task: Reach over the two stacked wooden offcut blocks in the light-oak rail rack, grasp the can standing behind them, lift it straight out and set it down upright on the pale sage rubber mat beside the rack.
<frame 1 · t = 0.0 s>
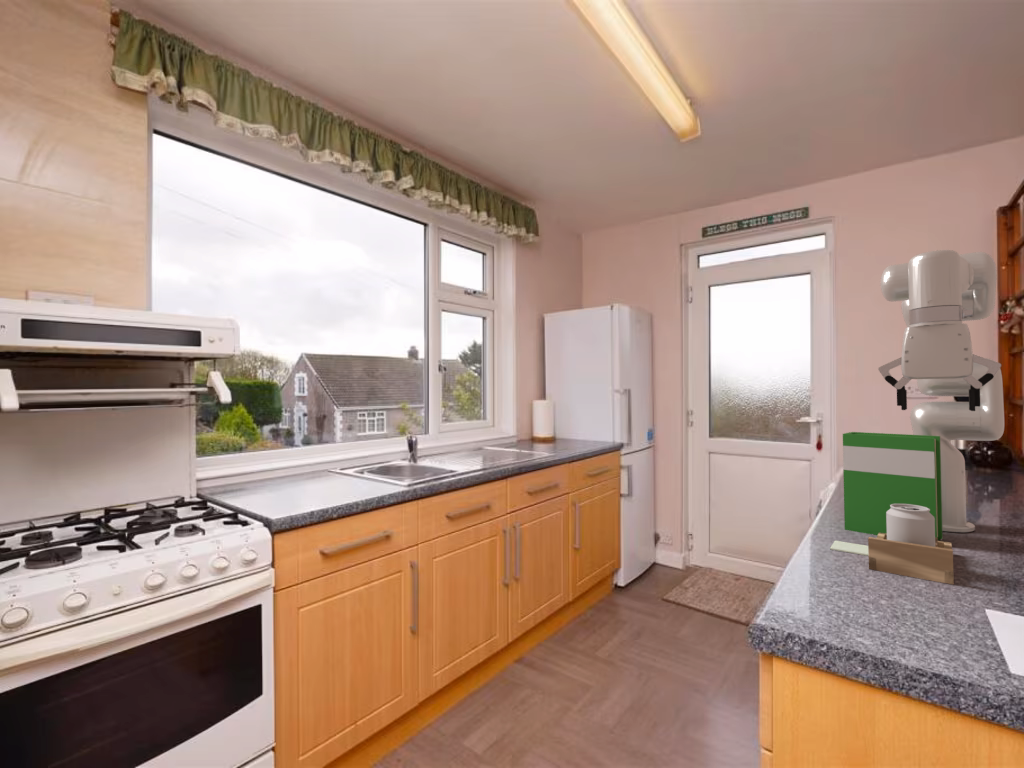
hand: (937, 410, 92), 31 cm above the countertop, fingers open, 9 cm apart
offcut small: (912, 537, 105), point 4 cm above the countertop, touching offcut large
rack: (911, 561, 101), on the countertop
can: (911, 567, 98), resting in rack
hardback book: (891, 535, 120), on the countertop
offcut large: (912, 556, 105), resting in rack, touching offcut small
mat: (851, 548, 109), on the countertop
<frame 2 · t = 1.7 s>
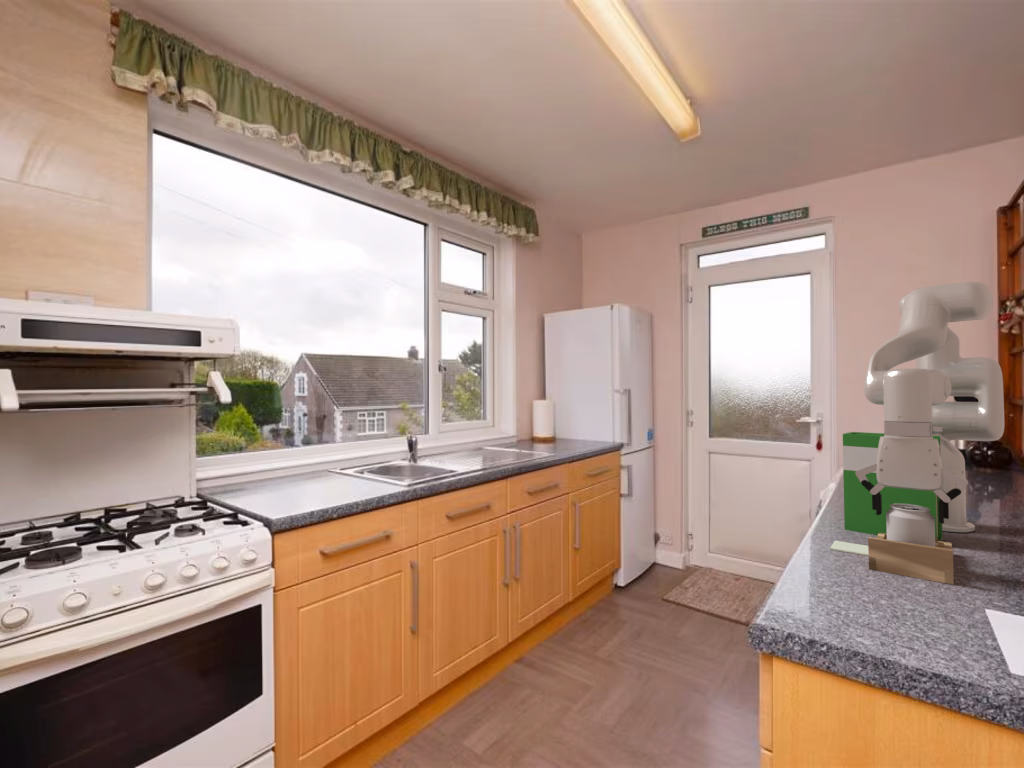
hand: (909, 517, 97), 10 cm above the countertop, fingers open, 9 cm apart
nothing on the countertop moved.
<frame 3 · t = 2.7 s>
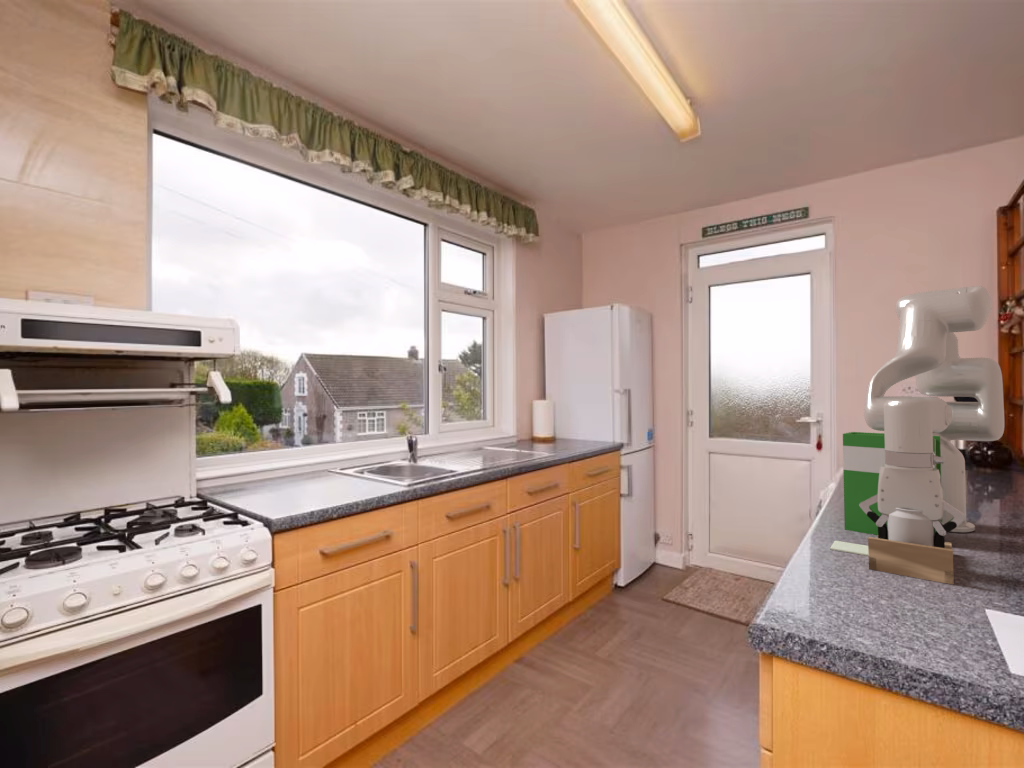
hand: (910, 549, 98), 3 cm above the countertop, fingers closed on can, 7 cm apart
can: (911, 567, 98), resting in rack, touching gripper
everything else where it was.
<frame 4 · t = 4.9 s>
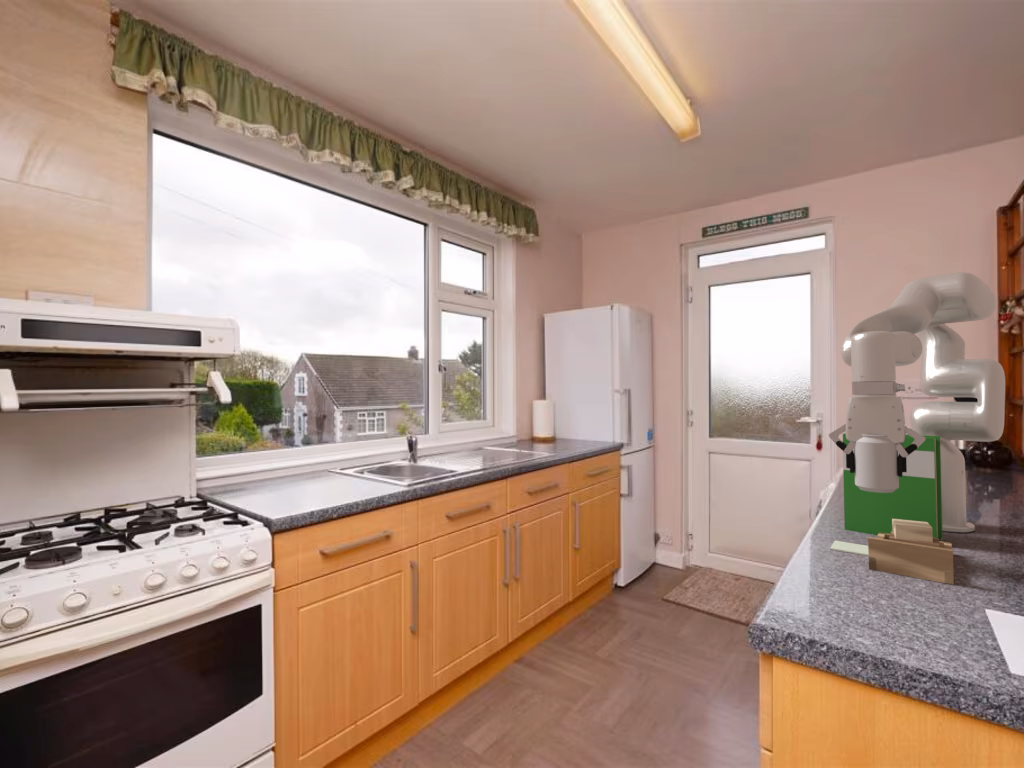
hand: (875, 473, 104), 17 cm above the countertop, fingers closed on can, 7 cm apart
offcut small: (911, 537, 105), point 4 cm above the countertop
can: (876, 490, 104), point 14 cm above the countertop, touching gripper
offcut large: (914, 556, 104), resting in rack
everything else where it was.
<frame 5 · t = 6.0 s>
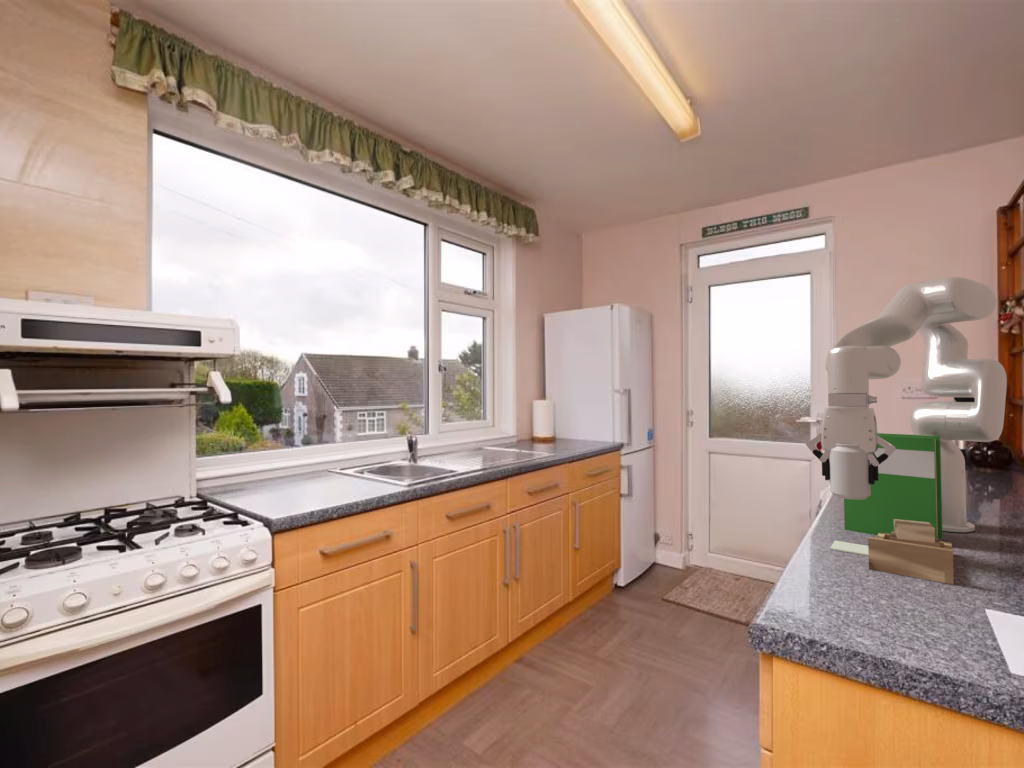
hand: (849, 481, 109), 15 cm above the countertop, fingers closed on can, 7 cm apart
offcut small: (913, 537, 104), point 4 cm above the countertop, touching offcut large
can: (849, 497, 109), point 11 cm above the countertop, touching gripper
offcut large: (914, 556, 104), resting in rack, touching offcut small
everything else where it was.
when the fingers open (5 cm above the countertop, at t = 8.2 s): can drops 1 cm, resting on mat.
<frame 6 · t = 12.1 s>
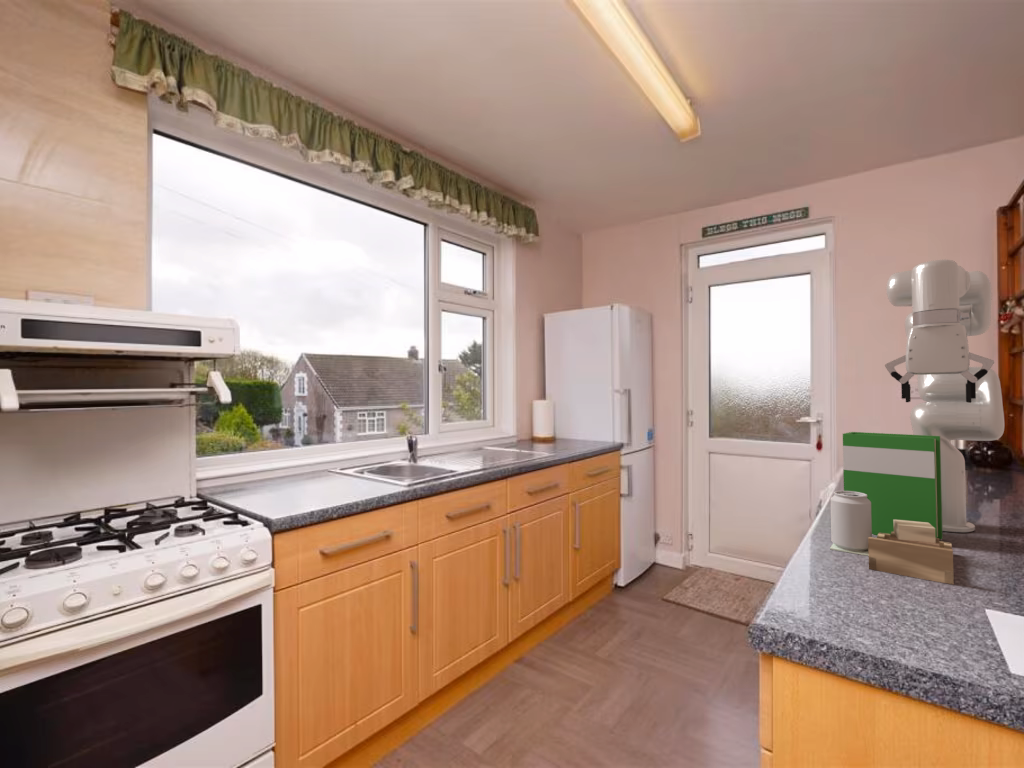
hand: (937, 402, 104), 32 cm above the countertop, fingers open, 9 cm apart
can: (851, 547, 109), resting on mat
everything else where it was.
at the end: can inside the target area on the mat (0.2 cm from its centre), point 0.1 cm above the mat's base; can tilted 0°; the gripper is holding nothing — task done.
